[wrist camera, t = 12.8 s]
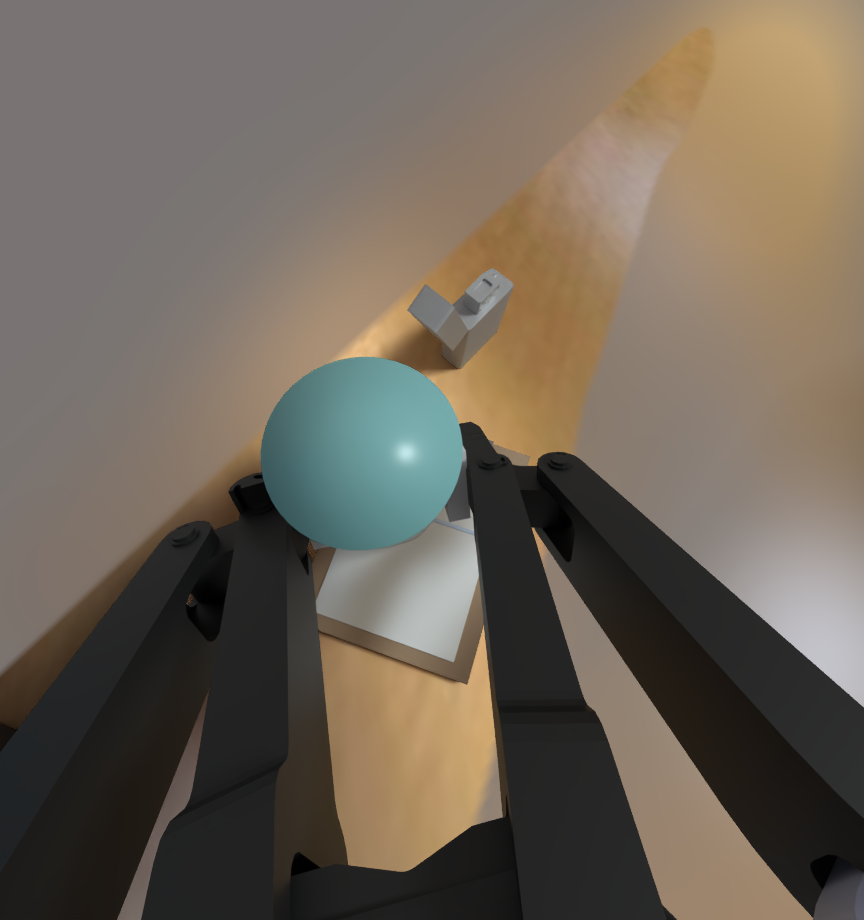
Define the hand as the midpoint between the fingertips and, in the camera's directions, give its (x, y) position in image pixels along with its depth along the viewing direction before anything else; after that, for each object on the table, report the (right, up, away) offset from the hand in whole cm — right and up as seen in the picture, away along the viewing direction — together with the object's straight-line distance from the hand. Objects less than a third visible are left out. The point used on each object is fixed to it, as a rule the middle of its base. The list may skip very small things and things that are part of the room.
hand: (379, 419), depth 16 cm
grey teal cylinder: (+1, -4, +2) cm, 5 cm away
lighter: (+4, +5, +7) cm, 9 cm away
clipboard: (+2, -6, +4) cm, 7 cm away
